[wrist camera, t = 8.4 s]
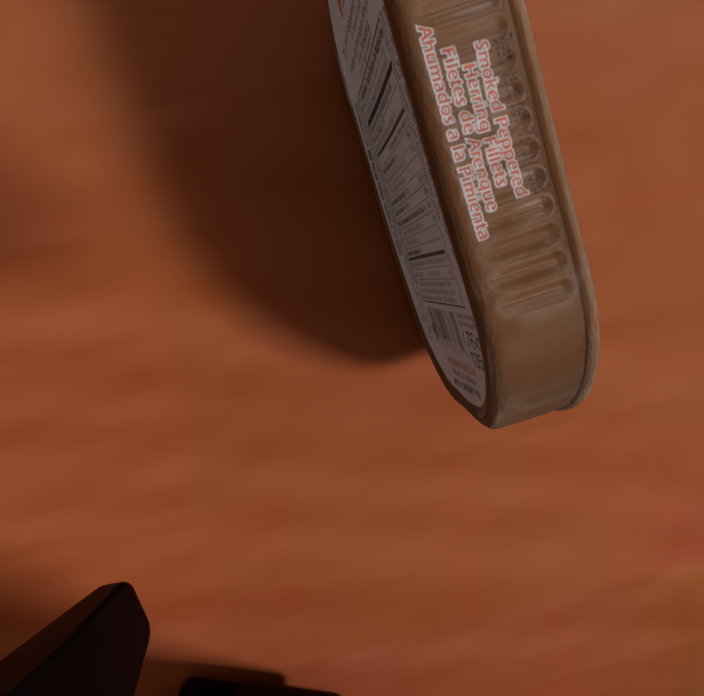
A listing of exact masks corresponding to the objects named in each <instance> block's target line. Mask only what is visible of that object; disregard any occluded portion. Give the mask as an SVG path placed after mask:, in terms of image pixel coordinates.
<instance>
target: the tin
mask: <svg viewBox="0 0 704 696" xmlns="http://www.w3.org/2000/svg"><path fill="white" fill-rule="evenodd" d="M325 3H326V9H327V15H328V20H329V25H330V30H331V36H332V40H333V45H334V49H335V54H336V58H337V62H338V66H339V70H340V74H341V78H342V82H343V85H344V89H345V93H346V96H347V100H348V103H349V106H350V110H351V113H352V116H353V119H354V123H355V126H356V130H357V133H358V137H359V140H360V144H361V147H362V151H363V154H364V157H365V161H366V164H367V168H368V171H369V175H370V178H371V182H372V185H373V189H374V192H375V195H376V199H377V202H378V205H379V209H380V212H381V215H382V218H383V222H384V225H385V228H386V231H387V235H388V238H389V241H390V244H391V247H392V251H393V254H394V257H395V260H396V263H397V266H398V269H399V273H400V276H401V279H402V282H403V285H404V288H405V292H406V295H407V298H408V301H409V304H410V307H411V309H412V312H413V315H414V318H415V320H416V323H417V326H418V328H419V331H420V334H421V336H422V339H423V341H424V344H425V346H426V349H427V351H428V353H429V356H430V358H431V360H432V362H433V364H434V366H435V368H436V370H437V372H438V374H439V376H440V378H441V380H442V381H443V383H444V385H445V387H446V388H447V390H448V391H449V393H450V394H451V395H452V396H453V398H454V399H455V400H456V401H457V402H458V403H460V404H461V405H462V406H463V407H465V408H466V409H467V410H468V411H469V412H470V414H471V415H472V416H473V417H474V418H475V419H477V420H478V421H479V422H480V423H482V424H483V425H485V426H487V427H488V428H490V429H498V428H502V427H506V426H510V425H513V424H516V423H519V422H522V421H525V420H528V419H530V418H533V417H536V416H539V415H542V414H545V413H548V412H551V411H554V410H558V411H561V410H568V409H571V408H574V407H575V406H577V405H578V404H580V403H581V402H582V401H583V400H584V399H585V398H586V397H587V396H588V394H589V393H590V391H591V389H592V385H593V382H594V379H595V377H596V370H597V366H598V358H599V331H600V327H599V320H598V315H599V314H598V309H597V301H596V296H595V290H594V285H593V280H592V275H591V271H590V267H589V263H588V258H587V254H586V251H585V247H584V243H583V239H582V235H581V231H580V227H579V223H578V219H577V215H576V211H575V207H574V203H573V199H572V195H571V190H570V186H569V181H568V177H567V174H566V170H565V165H564V162H563V158H562V154H561V151H560V146H559V141H558V137H557V133H556V130H555V126H554V122H553V118H552V114H551V110H550V106H549V101H548V97H547V93H546V89H545V84H544V80H543V75H542V71H541V67H540V64H539V61H538V57H537V53H536V48H535V44H534V39H533V35H532V30H531V26H530V21H529V17H528V13H527V10H526V6H525V2H524V0H325Z"/></svg>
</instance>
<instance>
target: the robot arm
mask: <svg viewBox="0 0 704 696" xmlns="http://www.w3.org/2000/svg"><path fill="white" fill-rule="evenodd" d="M149 637H150V626H149V621H148V619H147V616H146V614H145V612H144V610H143V608H142V605H141V603H140V601H139V599H138V597H137V594H136V592H135V590H134V588H133V586H132V585H131V584H129V583H128V582H118V583H112V584H107V585H103V586H101V587H99V588H97V589H96V590H95V591H93V592H92V593H91V594H89V595H88V596H87V597H85V598H84V599H83V600H81V601H80V602H78V603H77V604H76V605H74V606H73V607H72V608H70V609H69V610H68V611H66V612H65V613H64V614H62V615H61V616H60V617H58V618H57V619H56V620H54V621H53V622H52V623H50V624H49V625H48V626H46V627H45V628H44V629H42V630H41V631H40V632H38V633H37V634H36V635H34V636H33V637H32V638H30V639H29V640H28V641H26V642H25V643H24V644H22V645H21V646H20V647H18V648H17V649H16V650H14V651H13V652H11V653H10V654H9V655H7V656H6V657H5V658H3V659H2V660H1V661H0V696H134V695H135V691H136V687H137V683H138V680H139V676H140V672H141V668H142V665H143V661H144V657H145V653H146V650H147V646H148V642H149ZM192 692H195V693H197V694H198V696H320V695H313V694H306V693H300V692H293V691H286V690H279V689H272V688H265V687H258V686H251V685H243V684H236V683H229V682H222V681H215V680H208V679H201V678H191V679H188V680H186V681H185V682H184V683H183V684H182V686H181V688H180V691H179V695H178V696H189V695H188V694H189V693H192Z"/></svg>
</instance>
